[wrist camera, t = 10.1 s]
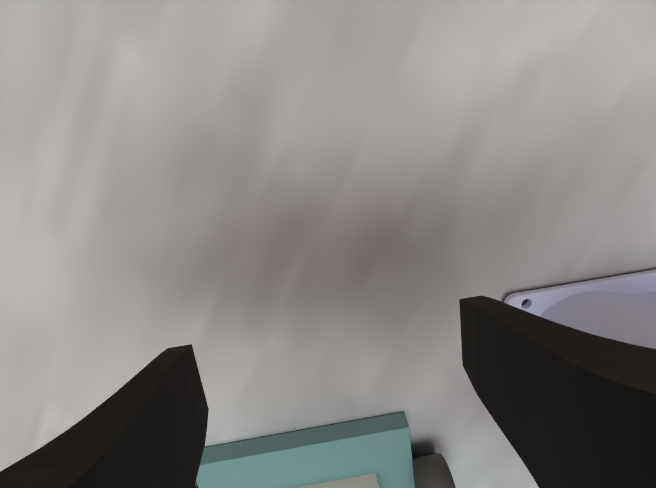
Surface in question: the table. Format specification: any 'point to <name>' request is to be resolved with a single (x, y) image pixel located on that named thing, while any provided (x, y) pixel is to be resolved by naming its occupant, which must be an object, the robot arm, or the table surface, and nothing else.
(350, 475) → the chassis
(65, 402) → the table surface
